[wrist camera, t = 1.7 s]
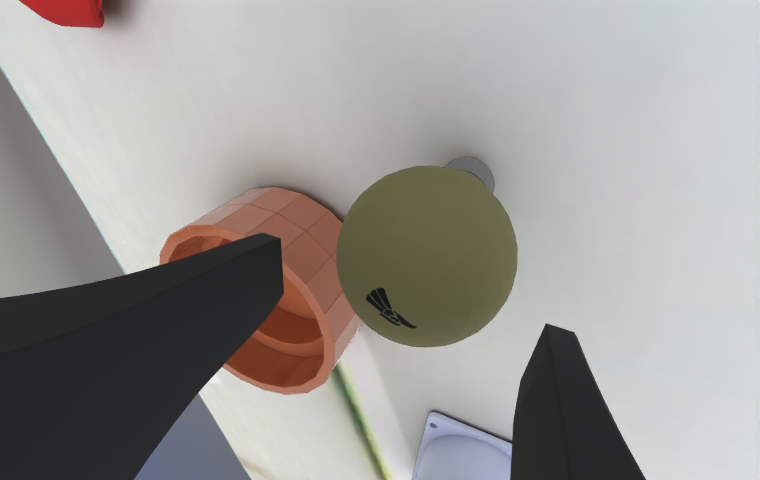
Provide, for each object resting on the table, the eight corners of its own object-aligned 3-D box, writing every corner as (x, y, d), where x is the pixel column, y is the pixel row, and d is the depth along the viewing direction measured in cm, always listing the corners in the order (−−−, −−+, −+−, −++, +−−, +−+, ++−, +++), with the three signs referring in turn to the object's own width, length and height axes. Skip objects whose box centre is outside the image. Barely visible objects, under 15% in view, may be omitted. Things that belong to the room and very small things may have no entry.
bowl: (369, 353, 27) (331, 421, 22) (236, 302, 30) (180, 352, 25) (385, 211, 21) (337, 265, 16) (216, 165, 24) (137, 200, 19)
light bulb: (398, 204, 20) (289, 331, 12) (432, 97, 17) (315, 176, 9) (500, 249, 19) (454, 420, 11) (557, 145, 16) (551, 281, 8)
